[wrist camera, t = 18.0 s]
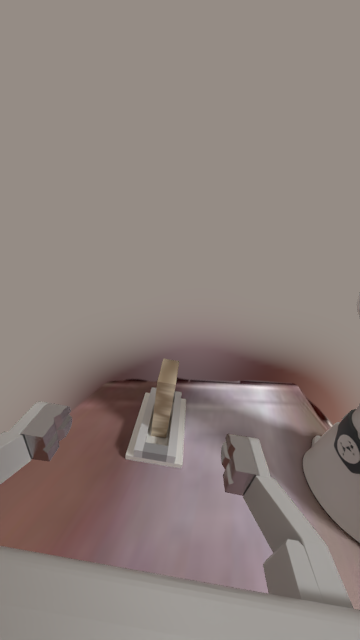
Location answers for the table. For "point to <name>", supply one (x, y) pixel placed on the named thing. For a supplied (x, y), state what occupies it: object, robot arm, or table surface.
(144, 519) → the table surface
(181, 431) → the floor track
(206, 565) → the table surface
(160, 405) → the tan wooden block
